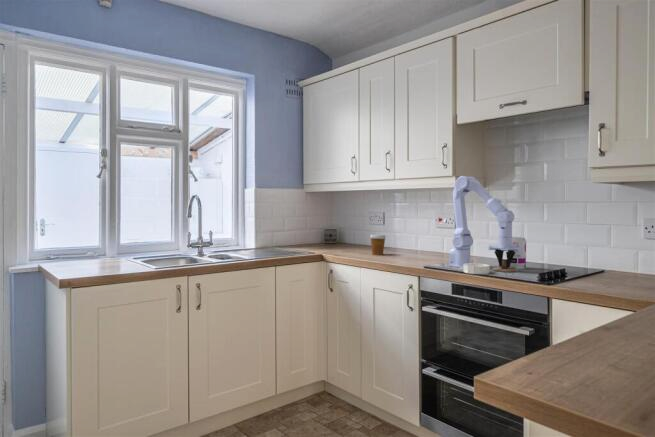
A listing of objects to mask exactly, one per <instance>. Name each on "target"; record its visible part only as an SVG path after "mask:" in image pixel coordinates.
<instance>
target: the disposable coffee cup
mask: <svg viewBox="0 0 655 437" xmlns="http://www.w3.org/2000/svg"><path fill="white" fill-rule="evenodd" d="M369 238H370V245H371V253H372V254H371V255H373V256H383V255H384V250H385V241H386V234H385V233H384V234H382V233H371V234H370V236H369Z"/></svg>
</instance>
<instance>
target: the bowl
mask: <svg viewBox="0 0 655 437" xmlns="http://www.w3.org/2000/svg"><path fill="white" fill-rule="evenodd" d="M490 268H491V267H490V264H486V263H479V262H473V263H471V262H470V263H466V264H463V267H462V269H463V273H466V274H470V275H471V274H472V275H486V274H487V275H488V274H490V272H491V271H490Z"/></svg>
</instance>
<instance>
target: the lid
mask: <svg viewBox="0 0 655 437" xmlns="http://www.w3.org/2000/svg"><path fill="white" fill-rule="evenodd" d="M492 268H493V271H497V272H496V273H503V272H517V271H518V269H516V268H510V267H507V258H506V259H502V260H501V267H499V266H493V267H492ZM493 271H492V272H493ZM517 273H518V272H517Z"/></svg>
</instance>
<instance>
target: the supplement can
mask: <svg viewBox="0 0 655 437" xmlns="http://www.w3.org/2000/svg"><path fill="white" fill-rule="evenodd" d="M512 247H520V248H522V252H515V255H514V256H513V258H512V261H511V264H510V268H516V269H517V270H525V269H526V268H527V267H526V266H527V240H526V237H524V236H512ZM506 250H509V249H506ZM506 252H508V251H506Z"/></svg>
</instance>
